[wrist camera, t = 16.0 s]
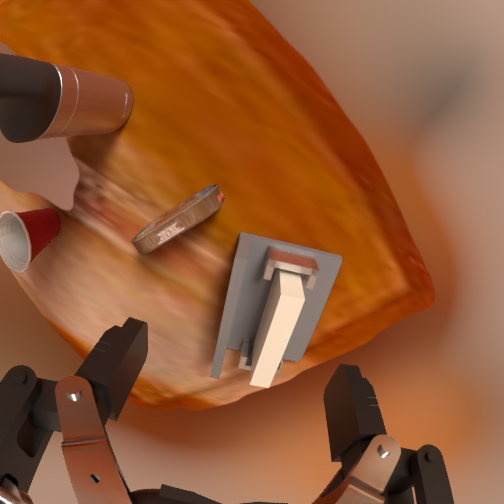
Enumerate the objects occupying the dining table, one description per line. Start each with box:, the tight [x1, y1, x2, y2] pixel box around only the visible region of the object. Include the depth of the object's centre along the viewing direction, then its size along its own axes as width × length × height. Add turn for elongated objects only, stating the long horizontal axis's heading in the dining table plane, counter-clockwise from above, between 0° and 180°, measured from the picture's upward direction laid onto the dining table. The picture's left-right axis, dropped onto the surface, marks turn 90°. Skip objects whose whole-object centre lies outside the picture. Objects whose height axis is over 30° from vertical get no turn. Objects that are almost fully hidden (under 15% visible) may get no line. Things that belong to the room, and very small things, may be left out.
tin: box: [131, 184, 225, 255], centre depth 38 cm, size 15×3×8 cm, turn 119°
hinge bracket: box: [210, 232, 343, 379], centre depth 43 cm, size 16×22×10 cm
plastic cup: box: [0, 208, 60, 273], centre depth 38 cm, size 11×11×12 cm
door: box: [250, 268, 305, 388], centre depth 41 cm, size 4×17×10 cm, turn 167°
